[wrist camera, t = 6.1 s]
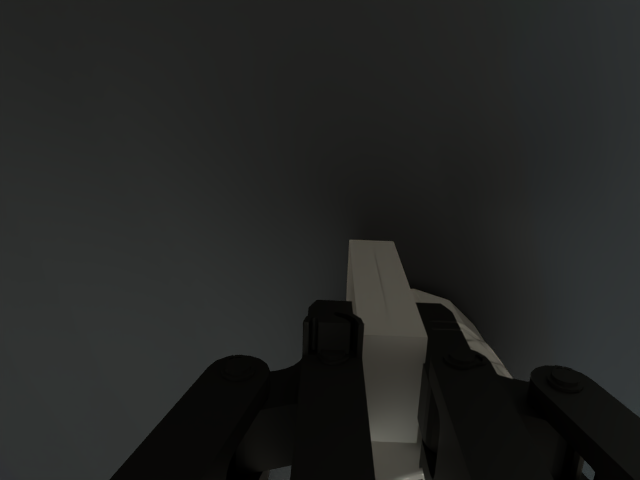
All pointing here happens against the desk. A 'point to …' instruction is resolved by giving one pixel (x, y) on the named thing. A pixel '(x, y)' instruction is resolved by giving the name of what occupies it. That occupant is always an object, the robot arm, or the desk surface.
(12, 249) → the desk surface
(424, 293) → the white cup
